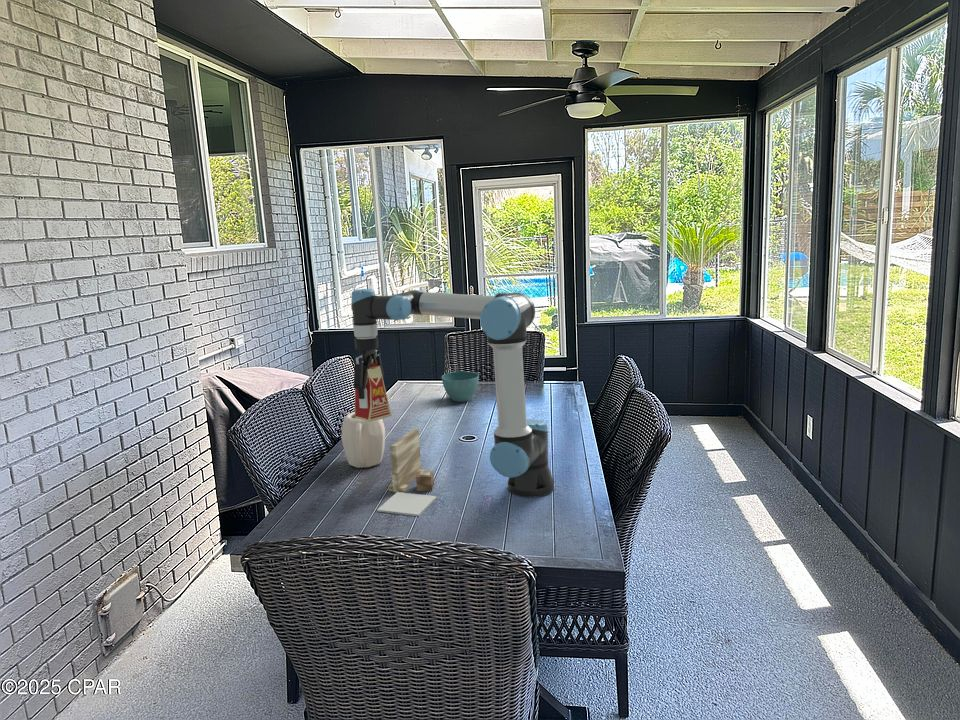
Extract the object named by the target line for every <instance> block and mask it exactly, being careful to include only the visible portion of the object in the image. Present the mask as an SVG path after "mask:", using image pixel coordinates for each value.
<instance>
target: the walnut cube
mask: <svg viewBox="0 0 960 720" xmlns="http://www.w3.org/2000/svg"><path fill="white" fill-rule="evenodd" d="M434 474H435V473H434V470H426V471H419V472H418V474H417V476H416V478H415V479H416V481H415V482H416V491H417V492H418V491H419V492H422V491H423V492H430V491H431V492H433V488H434V486H435V479H434V478H435V475H434Z"/></svg>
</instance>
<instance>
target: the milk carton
mask: <svg viewBox="0 0 960 720" xmlns="http://www.w3.org/2000/svg"><path fill="white" fill-rule="evenodd" d="M367 372H368V373H367V379H366V385H365V388H367V398H368V408H360V405H359V393H358V389H355V388H354V412H355V418H356V419H361V420H364V421H367V422H372V421H376V420H379V419H382V420H383V419H386V418H390V417H392V412H391V411H392V410H391V408H390V404H389V403H390V402H389V398H388V395H387V390H386V386H385V382H384V381H383V377H382V372H381V368H380V366H379V365H377V364H375V363H373V359H372V360H371V362H370V368H369V369H367Z"/></svg>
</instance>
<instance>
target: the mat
mask: <svg viewBox="0 0 960 720" xmlns="http://www.w3.org/2000/svg"><path fill="white" fill-rule="evenodd" d="M437 499H438V496H436V495H427V494H419V493H410V492H408V493H407V492H405V493H404V492H395V493H394V494H393V495H392V496H391V497H389V498H388V499H387V500H386V501H385V502H384V503H383V504H382V505H381V506H379V507H378V508H377V510H376V511H377V512H378V513H379V512H380V513H387V514H396V515H404V516H411V517H412V516H413V517H420V516H421V515H422V514H423V513H424V512H425V511H426V510H427V509H428V508H429V506H431V505H432V504H433V503H434V501H436V500H437Z"/></svg>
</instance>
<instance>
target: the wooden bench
mask: <svg viewBox="0 0 960 720" xmlns="http://www.w3.org/2000/svg"><path fill="white" fill-rule="evenodd" d="M420 445H421V444H420V429H416V428H413V429H411V430H410V431H409V432H408V433H406V434H405V435H403V436H402V437H400V438H399V439H398V440H396V441H394V442H393V443H392V444H391V445H389V447H390V462H391V477H392V478H391V479H392V483H390V484H389V485H388V486H387V487H388V488H387V489H388V492H393V493H397V492H402V493H407V491H408V490H410V487H409V484H410V483H412V481H414V480H415V479H416V476H417V474H418V472H419V471H427V470H426V469H422V466H421V465H422V462H421V446H420Z"/></svg>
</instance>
